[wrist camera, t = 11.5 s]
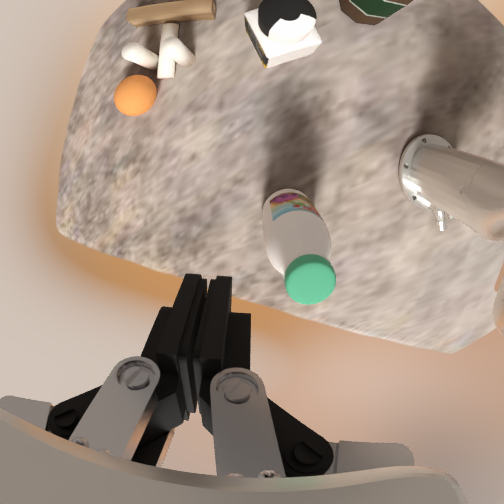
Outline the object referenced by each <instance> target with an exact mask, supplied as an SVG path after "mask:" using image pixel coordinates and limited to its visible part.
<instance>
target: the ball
mask: <svg viewBox="0 0 504 504" xmlns="http://www.w3.org/2000/svg"><path fill="white" fill-rule="evenodd" d="M156 95H157V90H156V86H155V84H154V82H153V81H152V80H151V79H150V78H148V77H146V76H144V75H132V76H129V77H127V78H125V79H124V80H123V81H121V82H120V84H119V85H118V86H117V88H116V90H115V94H114V101H115V105H116V107H117V108H118V110H119V111H120V112H122V113H123V114H126V115H129V116H137V115H140V114H143V113H145V112H146V111H148V110H149V109H150V108H151V107H152V105H153V104H154V102H155V100H156Z"/></svg>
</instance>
